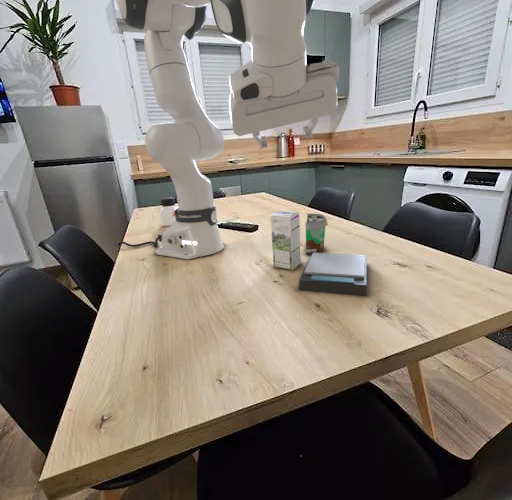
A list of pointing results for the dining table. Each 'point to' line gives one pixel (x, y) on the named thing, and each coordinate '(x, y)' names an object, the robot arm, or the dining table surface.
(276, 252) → the syrup box
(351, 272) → the kitchen scale
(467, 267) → the dining table surface
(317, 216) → the food container
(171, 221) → the medicine bottle
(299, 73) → the robot arm
